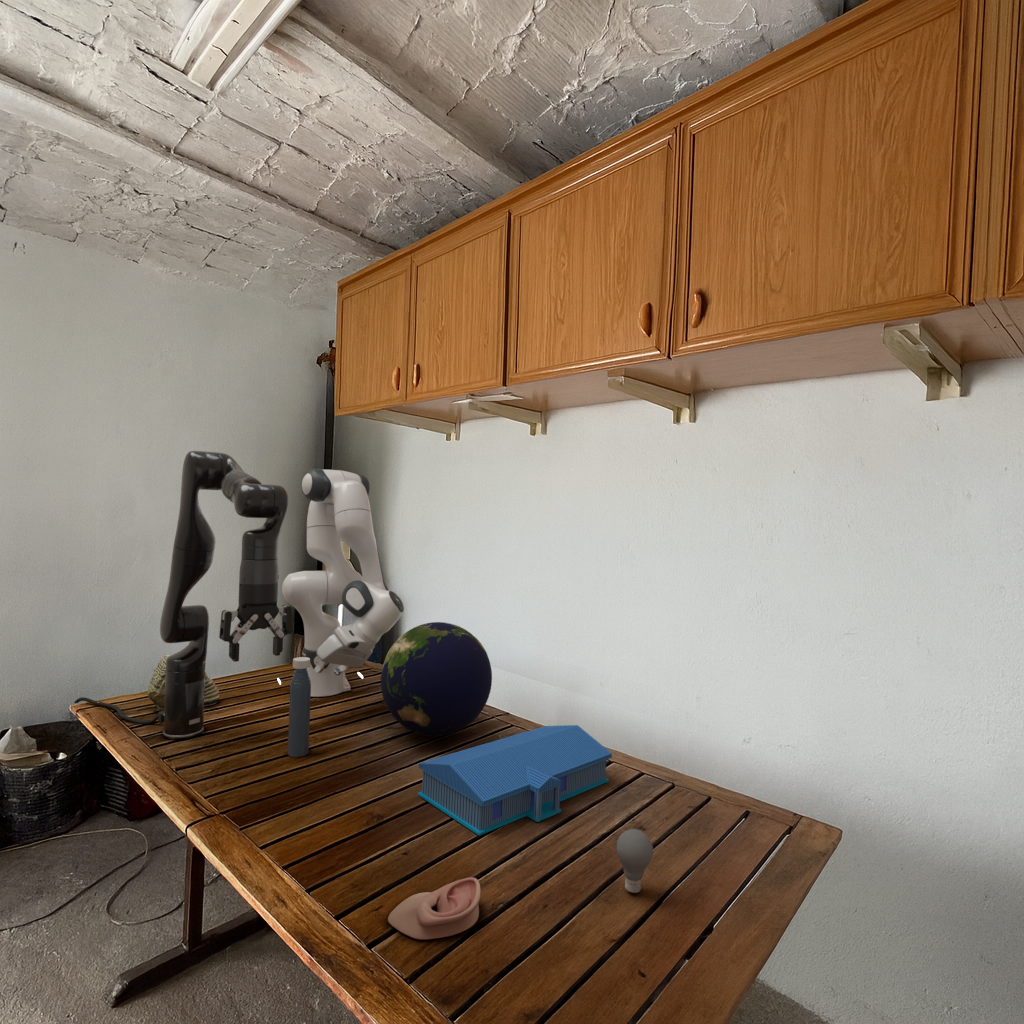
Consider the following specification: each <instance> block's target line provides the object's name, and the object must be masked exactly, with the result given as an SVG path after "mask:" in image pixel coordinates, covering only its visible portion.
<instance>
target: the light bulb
mask: <svg viewBox="0 0 1024 1024" xmlns="http://www.w3.org/2000/svg"><path fill="white" fill-rule="evenodd" d="M615 849H616V854H617V857H618V859H619V861H620V863H621V865H622V867H623V873H624V874H623V875H624V876H625V878H624V888H625V890H627V891H628V892H630V893H634V894H635V893H639V892H640V891H641V889H642V887H641V886H642V879H643V877H644V875H645V871H646V868H647V867H648V866H649V864H650V863H651V861H652V859H653V855H654V847H653V843H652V841H651V838H649V836H648V835H647V834H646V833H645V832H643V831H642V830H641V829H636V828H629V829H627V830H625V831H623V832H622V833H621V834H620V835H619V837H618V839H617V841H616V847H615Z"/></svg>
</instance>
